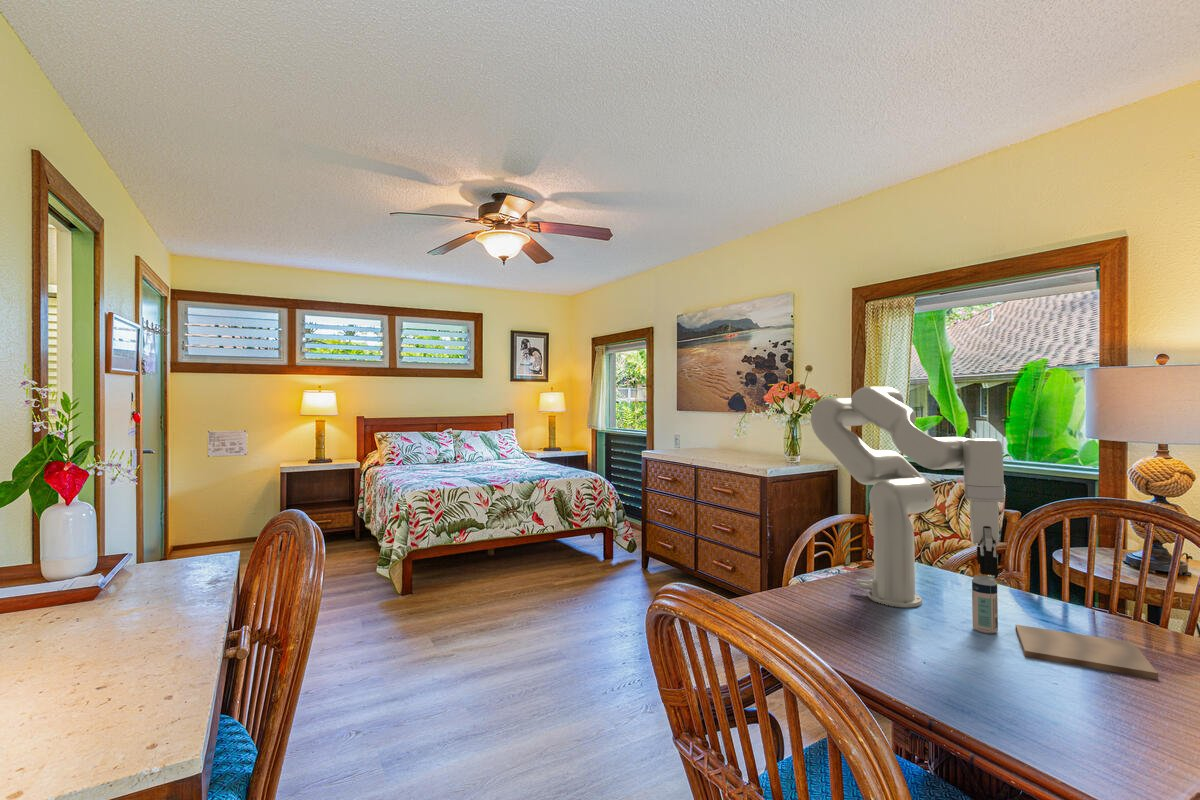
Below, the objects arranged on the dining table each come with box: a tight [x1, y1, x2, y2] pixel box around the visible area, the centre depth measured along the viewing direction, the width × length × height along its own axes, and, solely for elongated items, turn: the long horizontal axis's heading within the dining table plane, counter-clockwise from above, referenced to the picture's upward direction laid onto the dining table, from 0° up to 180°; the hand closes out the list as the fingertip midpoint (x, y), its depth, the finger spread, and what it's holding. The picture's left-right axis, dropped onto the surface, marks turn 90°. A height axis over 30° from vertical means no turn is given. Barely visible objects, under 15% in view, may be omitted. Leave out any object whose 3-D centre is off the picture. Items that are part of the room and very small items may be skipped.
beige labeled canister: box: [971, 574, 999, 635], centre depth 130 cm, size 5×5×12 cm
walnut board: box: [1015, 624, 1159, 680], centre depth 119 cm, size 20×16×1 cm
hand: (987, 569), depth 130 cm, fingers open, 9 cm apart
